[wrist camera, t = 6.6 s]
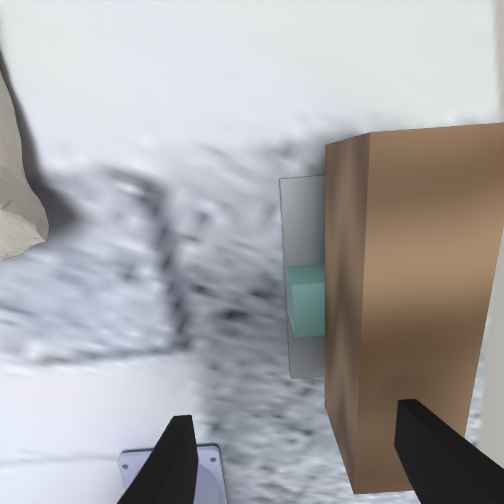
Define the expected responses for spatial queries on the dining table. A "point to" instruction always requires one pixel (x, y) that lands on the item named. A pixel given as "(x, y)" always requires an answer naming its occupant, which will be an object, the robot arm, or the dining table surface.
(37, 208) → the rock
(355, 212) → the walnut bar
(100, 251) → the dining table surface
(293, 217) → the board
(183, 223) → the dining table surface
